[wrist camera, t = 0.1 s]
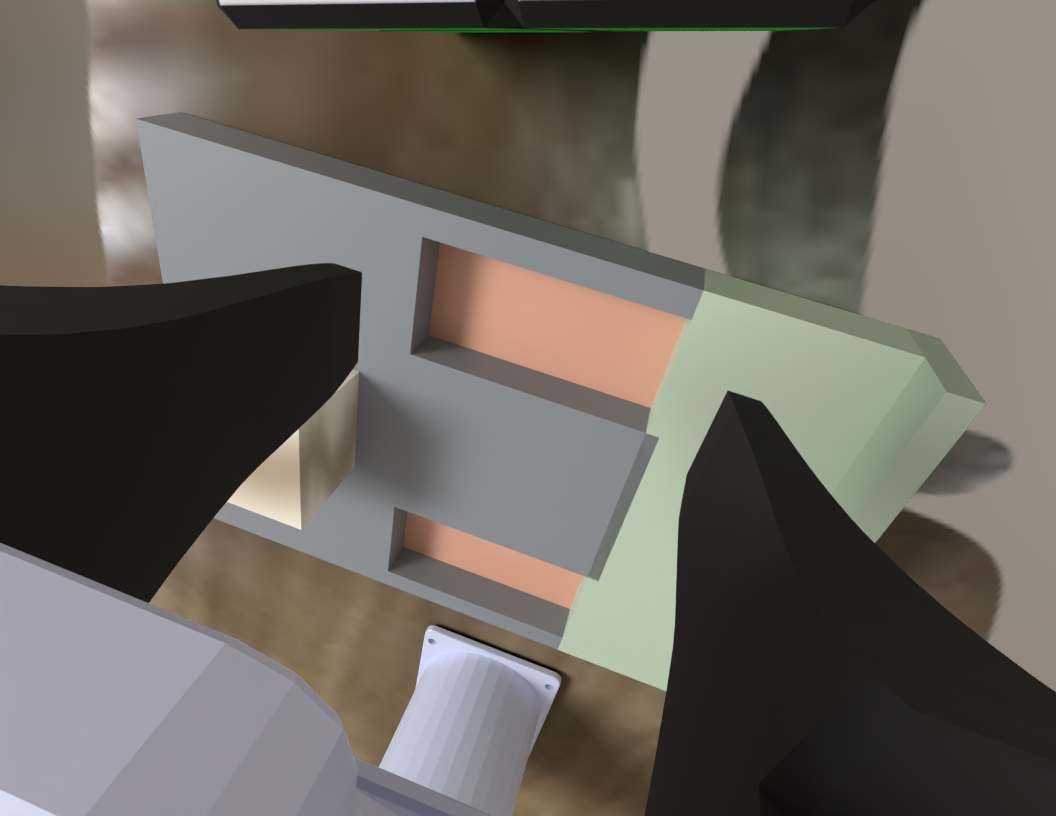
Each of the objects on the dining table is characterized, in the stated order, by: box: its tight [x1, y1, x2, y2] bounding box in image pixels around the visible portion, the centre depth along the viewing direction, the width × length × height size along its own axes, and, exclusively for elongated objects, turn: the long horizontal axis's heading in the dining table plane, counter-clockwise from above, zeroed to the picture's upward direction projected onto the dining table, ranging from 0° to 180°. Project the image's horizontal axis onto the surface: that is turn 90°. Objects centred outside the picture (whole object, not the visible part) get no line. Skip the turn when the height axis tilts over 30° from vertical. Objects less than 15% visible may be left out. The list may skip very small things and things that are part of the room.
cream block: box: [227, 369, 359, 530], centre depth 23 cm, size 5×5×4 cm
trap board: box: [136, 112, 986, 691], centre depth 24 cm, size 19×27×4 cm
